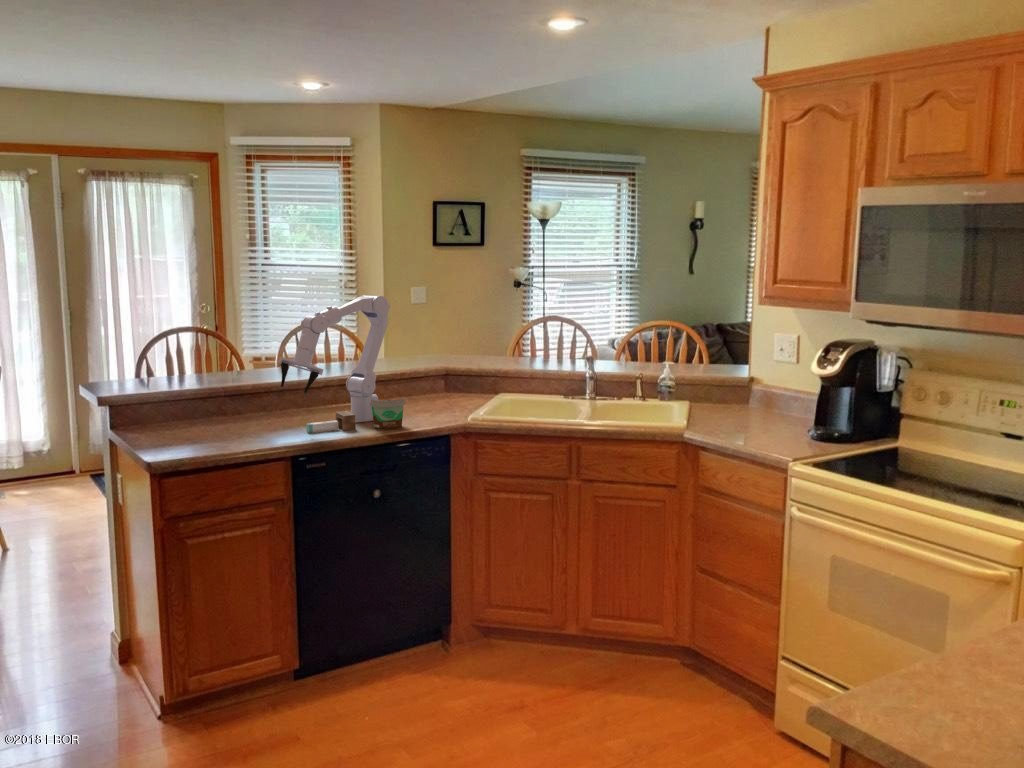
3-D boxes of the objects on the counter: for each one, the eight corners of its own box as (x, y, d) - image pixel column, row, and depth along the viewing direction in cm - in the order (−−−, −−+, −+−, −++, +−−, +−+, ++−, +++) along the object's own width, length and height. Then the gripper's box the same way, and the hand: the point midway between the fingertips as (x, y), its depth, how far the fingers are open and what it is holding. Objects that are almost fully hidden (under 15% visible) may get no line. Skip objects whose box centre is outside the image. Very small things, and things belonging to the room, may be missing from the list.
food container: (376, 432, 285) (375, 402, 283) (370, 429, 290) (369, 399, 289) (411, 428, 290) (410, 399, 289) (404, 425, 296) (404, 396, 294)
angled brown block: (347, 425, 296) (346, 410, 295) (355, 429, 289) (355, 414, 289) (336, 426, 294) (335, 412, 293) (344, 430, 287) (343, 416, 287)
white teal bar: (335, 428, 291) (335, 420, 291) (338, 430, 289) (338, 421, 289) (306, 431, 286) (306, 423, 286) (309, 433, 284) (308, 424, 284)
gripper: (283, 342, 280) (270, 382, 278) (327, 355, 283) (315, 395, 281) (284, 345, 287) (272, 384, 285) (327, 357, 290) (315, 396, 288)
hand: (293, 390), depth 284 cm, fingers open, 7 cm apart
